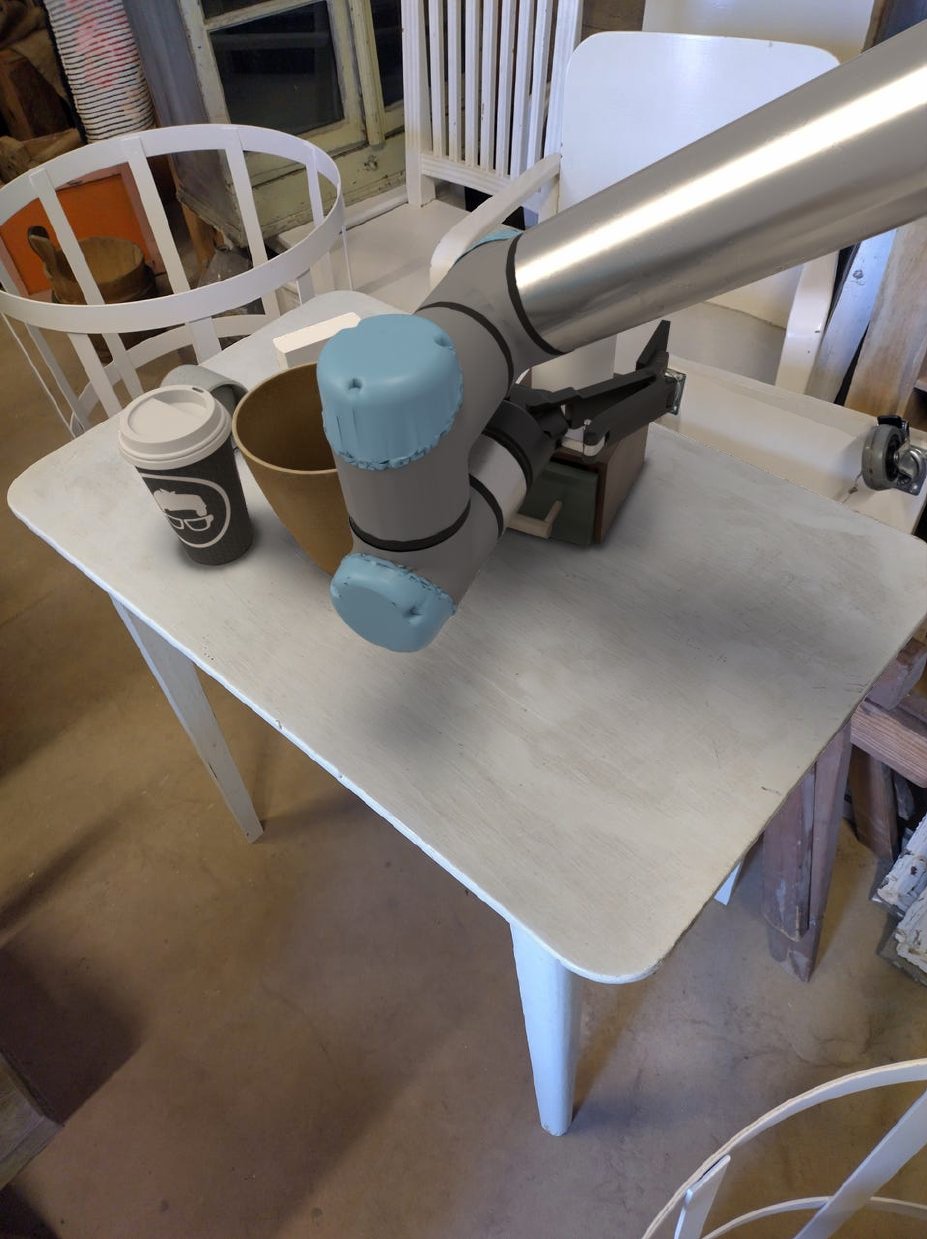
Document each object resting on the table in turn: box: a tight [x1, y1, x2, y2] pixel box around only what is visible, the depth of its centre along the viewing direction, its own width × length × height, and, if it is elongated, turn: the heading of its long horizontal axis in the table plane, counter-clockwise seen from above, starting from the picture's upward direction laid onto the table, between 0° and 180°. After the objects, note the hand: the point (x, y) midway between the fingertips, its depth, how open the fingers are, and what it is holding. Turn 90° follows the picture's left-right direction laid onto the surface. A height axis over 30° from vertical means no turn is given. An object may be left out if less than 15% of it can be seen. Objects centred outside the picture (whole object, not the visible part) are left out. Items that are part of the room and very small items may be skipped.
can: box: [532, 334, 618, 415], centre depth 69 cm, size 7×7×12 cm
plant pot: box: [232, 361, 354, 577], centre depth 71 cm, size 15×15×16 cm
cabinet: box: [518, 368, 650, 545], centre depth 77 cm, size 13×12×10 cm
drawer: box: [507, 456, 598, 548], centre depth 75 cm, size 16×10×8 cm, turn 154°
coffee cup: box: [117, 385, 254, 566], centre depth 73 cm, size 10×10×15 cm
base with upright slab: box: [272, 311, 363, 372], centre depth 84 cm, size 9×9×12 cm
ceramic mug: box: [158, 364, 250, 450], centre depth 86 cm, size 11×8×8 cm
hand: (588, 319), depth 70 cm, fingers open, 13 cm apart
